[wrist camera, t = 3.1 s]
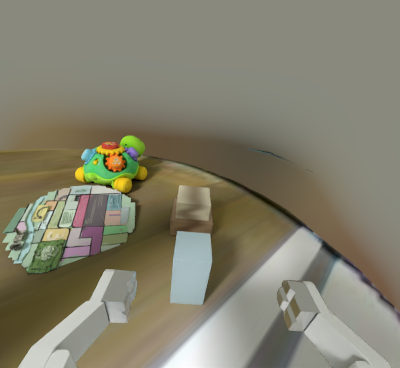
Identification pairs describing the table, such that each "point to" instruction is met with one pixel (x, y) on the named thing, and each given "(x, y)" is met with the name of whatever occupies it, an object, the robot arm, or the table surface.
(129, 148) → the turtle toy
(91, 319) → the robot arm
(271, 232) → the table surface
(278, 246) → the table surface
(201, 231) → the tower base
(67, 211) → the city model
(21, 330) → the table surface
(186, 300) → the tall brick
